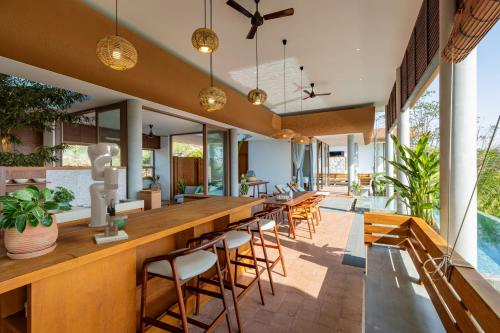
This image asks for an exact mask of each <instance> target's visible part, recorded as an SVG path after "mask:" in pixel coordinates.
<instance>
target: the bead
mask: <svg viewBox="0 0 500 333" xmlns="http://www.w3.org/2000/svg"><path fill="white" fill-rule="evenodd" d="M104 233H105V237H112V236H118V225H117V224H113V226H109V224H108V225H105V226H104Z"/></svg>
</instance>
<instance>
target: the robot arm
mask: <svg viewBox="0 0 500 333" xmlns="http://www.w3.org/2000/svg"><path fill="white" fill-rule="evenodd" d="M119 151H120V148H119V145H118V144H117V143H114V142H112V143H111V142H98V143H96V144H90V145H88V146H87V151H86V152H87V155H88V158H89V161H90V170H91V175H90V176H91V179H92V180H93V181H94V183H91V184H90V185H89V188H88V190H89V196H90V223H89V224H88V227H89V228H96V227H97V228H99V227H105V225H109V222H108V221H107V214H108V215H109V216H108V217H116V206H117V190H119V174H120V172H119V168H118V167H116V166H106V165H107V164H109V163H111V161H112V160H113V157H116V156H118V154H119V153H120V152H119ZM103 196H105V197H103Z"/></svg>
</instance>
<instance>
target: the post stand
mask: <svg viewBox="0 0 500 333" xmlns="http://www.w3.org/2000/svg"><path fill="white" fill-rule="evenodd" d="M108 225H109V226H113V222H110V223H109V222H108ZM94 239H95V241H96V244H97V245H99V244H104V243H109V242H110V243H111V242H116V241H121V240H127V239H129V235H128V234H127V233H126V231H125V230H122V231H118V236H112V237H105V232H103V233H97V234H94Z"/></svg>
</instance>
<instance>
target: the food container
mask: <svg viewBox="0 0 500 333" xmlns="http://www.w3.org/2000/svg"><path fill="white" fill-rule="evenodd" d="M128 217H129V216H128V215H123V216H120V215H117V216H116V215H115V216H112V217H109V216H108V217H107V220H108V221H109V222H108V224H109V223H110V222H113V224H117V225H118V231H122V230H124V231H126V227H127V219H128Z"/></svg>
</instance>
